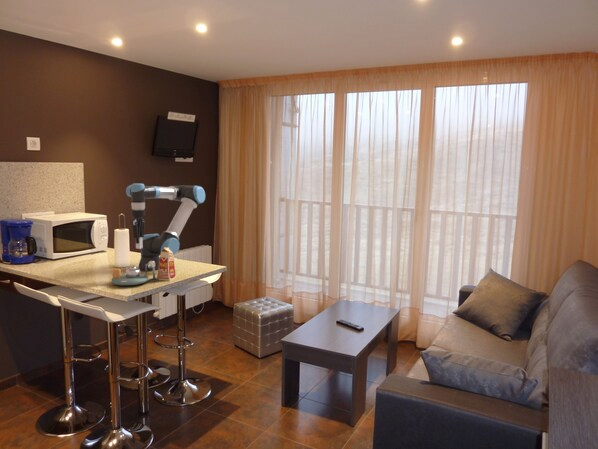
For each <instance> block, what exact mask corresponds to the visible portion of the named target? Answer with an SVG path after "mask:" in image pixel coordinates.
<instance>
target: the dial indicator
mask: <svg viewBox="0 0 598 449" xmlns="http://www.w3.org/2000/svg"><path fill="white" fill-rule="evenodd" d="M155 266H156V264H155V261H150V262H148V267H149V268H151V269H152V268H153V271H152V278H150V279H148V281H149V282H150V283H151V282H153V283H156V282H158V281H160V280H159V279H157V277H156V270H155ZM147 272H148V271H147V269H146V271H145V275H146V276H148V274H147Z"/></svg>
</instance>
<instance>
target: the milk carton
mask: <svg viewBox="0 0 598 449" xmlns="http://www.w3.org/2000/svg"><path fill="white" fill-rule="evenodd" d="M159 257H160V261H159V267H158V270H157V274H156V278H157V279H159V280H158V281H167V282H168V281H169V282H171V281H173V280H174V279H176V278H177V270H176V264H175V257H174V255H173V252H172V251H171V250H170V249H169V247H168V248H166V247H164V249H163V250H162V251H161V255H159Z"/></svg>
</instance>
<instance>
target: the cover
mask: <svg viewBox="0 0 598 449" xmlns="http://www.w3.org/2000/svg"><path fill="white" fill-rule="evenodd" d="M140 274H141V270H140V269H138V266H130V267H128V268H127V269H125V275H126V277H127V278H138V277H140Z"/></svg>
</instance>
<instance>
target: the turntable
mask: <svg viewBox="0 0 598 449" xmlns="http://www.w3.org/2000/svg"><path fill="white" fill-rule="evenodd" d="M121 272H122V271H121V268H112V278H111V283H112V284H114V285H118V286H127V285H129V286H135V284H136V285H140V284H144V283H147V282H148V281H149V276H148V275H146V274H141V273H140V277H138V278H127V277H126V274H121Z"/></svg>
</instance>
